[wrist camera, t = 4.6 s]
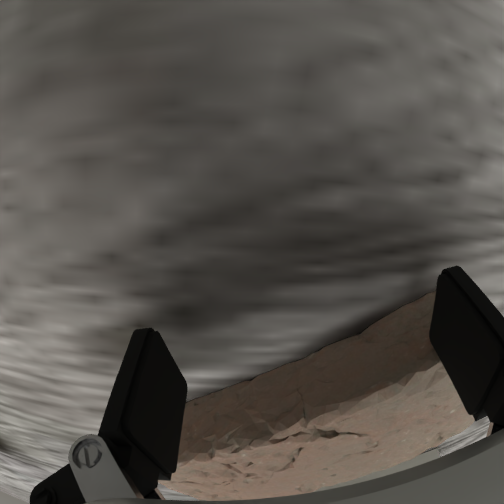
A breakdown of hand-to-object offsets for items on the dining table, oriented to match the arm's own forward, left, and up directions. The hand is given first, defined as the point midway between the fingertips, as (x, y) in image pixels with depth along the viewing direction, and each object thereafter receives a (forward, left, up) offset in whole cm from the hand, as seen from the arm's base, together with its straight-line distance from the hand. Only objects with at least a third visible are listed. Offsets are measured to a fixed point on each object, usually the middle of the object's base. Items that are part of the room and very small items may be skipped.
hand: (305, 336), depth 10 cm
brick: (+8, 0, -3) cm, 8 cm away
